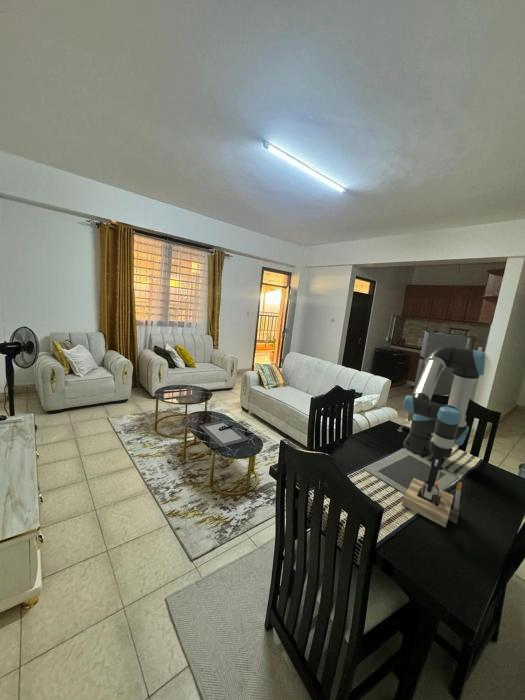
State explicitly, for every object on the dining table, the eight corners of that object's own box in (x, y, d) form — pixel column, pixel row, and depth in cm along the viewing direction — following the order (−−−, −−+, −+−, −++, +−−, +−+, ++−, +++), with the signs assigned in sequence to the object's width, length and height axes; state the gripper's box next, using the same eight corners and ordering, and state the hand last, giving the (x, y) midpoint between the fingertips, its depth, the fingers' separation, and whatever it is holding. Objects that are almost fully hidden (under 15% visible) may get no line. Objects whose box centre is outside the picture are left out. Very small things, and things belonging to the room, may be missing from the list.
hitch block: (411, 485, 132) (413, 477, 131) (459, 507, 120) (462, 499, 119) (401, 504, 118) (403, 496, 117) (454, 532, 106) (457, 523, 106)
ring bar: (453, 510, 115) (458, 479, 113) (457, 511, 115) (462, 480, 113) (452, 514, 113) (457, 483, 111) (456, 516, 112) (461, 485, 110)
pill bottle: (437, 510, 117) (443, 487, 114) (421, 507, 118) (427, 484, 116) (431, 500, 123) (437, 478, 120) (417, 497, 124) (422, 475, 121)
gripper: (436, 431, 126) (426, 472, 130) (425, 451, 107) (414, 499, 112) (456, 438, 121) (445, 480, 126) (448, 460, 103) (435, 510, 107)
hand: (430, 489), depth 119 cm, fingers open, 13 cm apart
